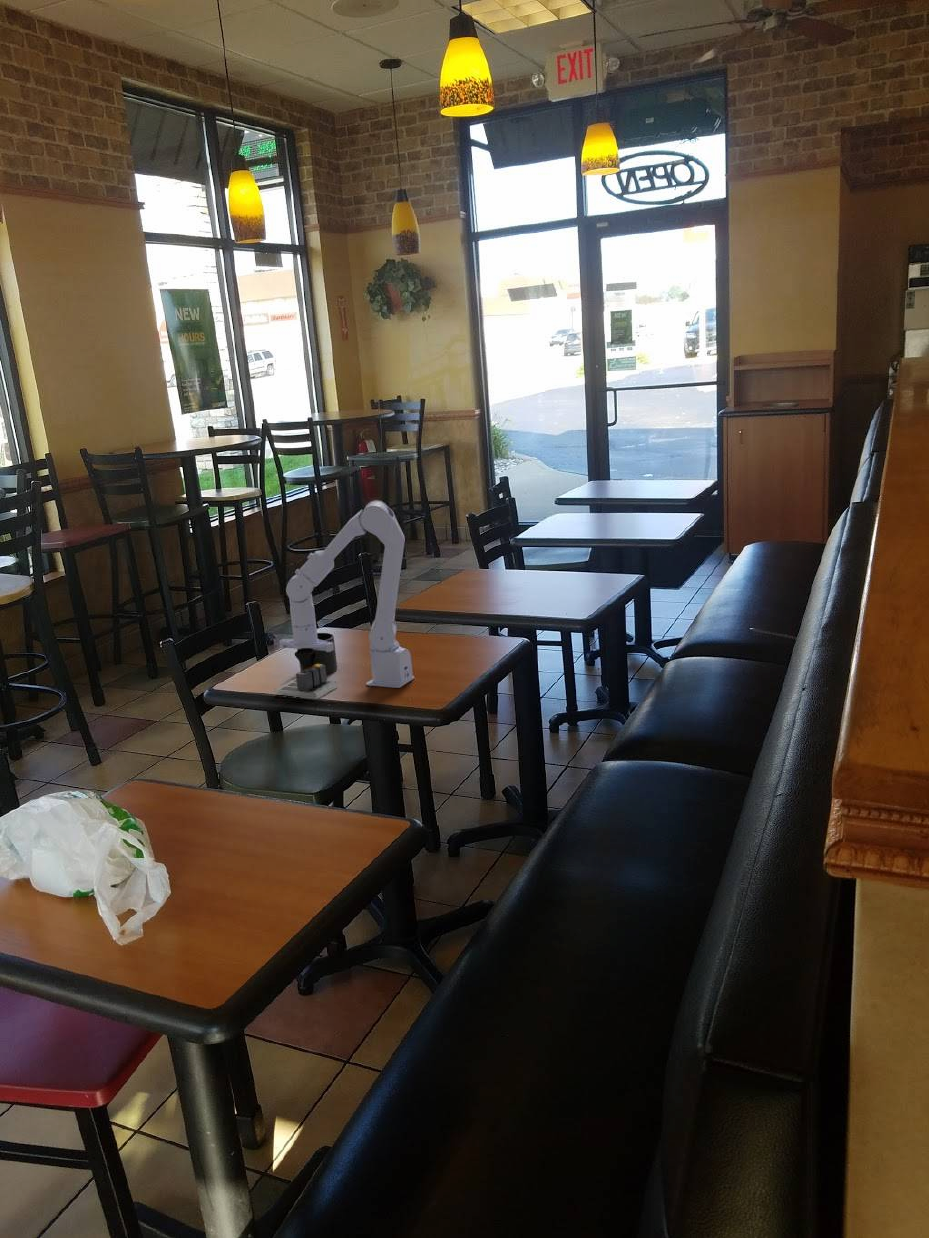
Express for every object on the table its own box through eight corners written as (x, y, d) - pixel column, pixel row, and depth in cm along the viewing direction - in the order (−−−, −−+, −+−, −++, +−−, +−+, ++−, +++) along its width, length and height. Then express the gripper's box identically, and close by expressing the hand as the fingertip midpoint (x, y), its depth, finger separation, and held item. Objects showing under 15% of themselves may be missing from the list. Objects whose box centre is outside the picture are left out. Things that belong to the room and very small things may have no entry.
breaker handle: (326, 680, 234) (325, 664, 233) (321, 683, 232) (320, 667, 231) (316, 679, 236) (314, 663, 234) (311, 682, 234) (309, 666, 233)
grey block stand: (337, 687, 234) (334, 663, 233) (316, 699, 227) (313, 675, 225) (297, 683, 240) (294, 660, 238) (275, 695, 232) (272, 671, 230)
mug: (345, 662, 254) (342, 629, 252) (330, 676, 243) (326, 642, 241) (312, 662, 256) (308, 630, 254) (295, 677, 245) (291, 643, 243)
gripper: (269, 626, 231) (276, 680, 234) (319, 630, 225) (325, 685, 228) (286, 619, 237) (293, 671, 241) (336, 622, 231) (341, 675, 234)
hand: (310, 677), depth 235 cm, fingers closed
